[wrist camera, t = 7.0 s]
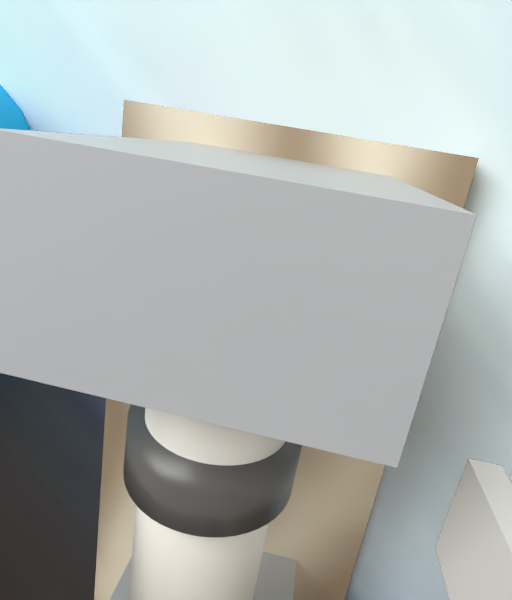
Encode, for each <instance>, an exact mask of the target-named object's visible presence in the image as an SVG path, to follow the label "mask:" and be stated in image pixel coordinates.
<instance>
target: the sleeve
mask: <svg viewBox="0 0 512 600" xmlns="http://www.w3.org/2000/svg"><path fill="white" fill-rule="evenodd" d="M131 559H132V557H131ZM131 559H130V561H129V563H128V564H127V566H126V568H125V570H124V572H123V574H122V576H121V578H120V580H119V582H118V584H117V586H116V588H115V590H114V592H113V594H112V596H111V598H110V600H128V591H129V580H130V570H131ZM296 563H297V560H294V559H290V558H286V557H283V556H279V555H275V554H271V553H268V552H264V551H263V553H262V558H261V562H260V567H259V572H258V576H257V581H256V586H255V590H254V595H253V600H293V592H294V582H295V572H296Z"/></svg>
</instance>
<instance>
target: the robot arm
mask: <svg viewBox="0 0 512 600" xmlns="http://www.w3.org/2000/svg"><path fill="white" fill-rule="evenodd" d="M435 549H436V552H437V556H438V560H439V563H440V567H441V571H442V574H443V578H444V582H445V585H446V589H447V593H448V596H449V600H512V483H511V481H510V480H509V478H508V476H507V474H506V472H505V470H504V469H503V467H502V466H501V465H496V464H492V463H487V462H483V461H478V460H474V459H469V458H468V461H467V464H466V466H465V469H464V472H463V474H462V477H461V480H460V482H459V485H458V488H457V490H456V493H455V496H454V498H453V501H452V504H451V506H450V509H449V512H448V514H447V517H446V520H445V522H444V525H443V528H442V530H441V533H440V536H439V538H438V541H437V544H436V546H435Z"/></svg>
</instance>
